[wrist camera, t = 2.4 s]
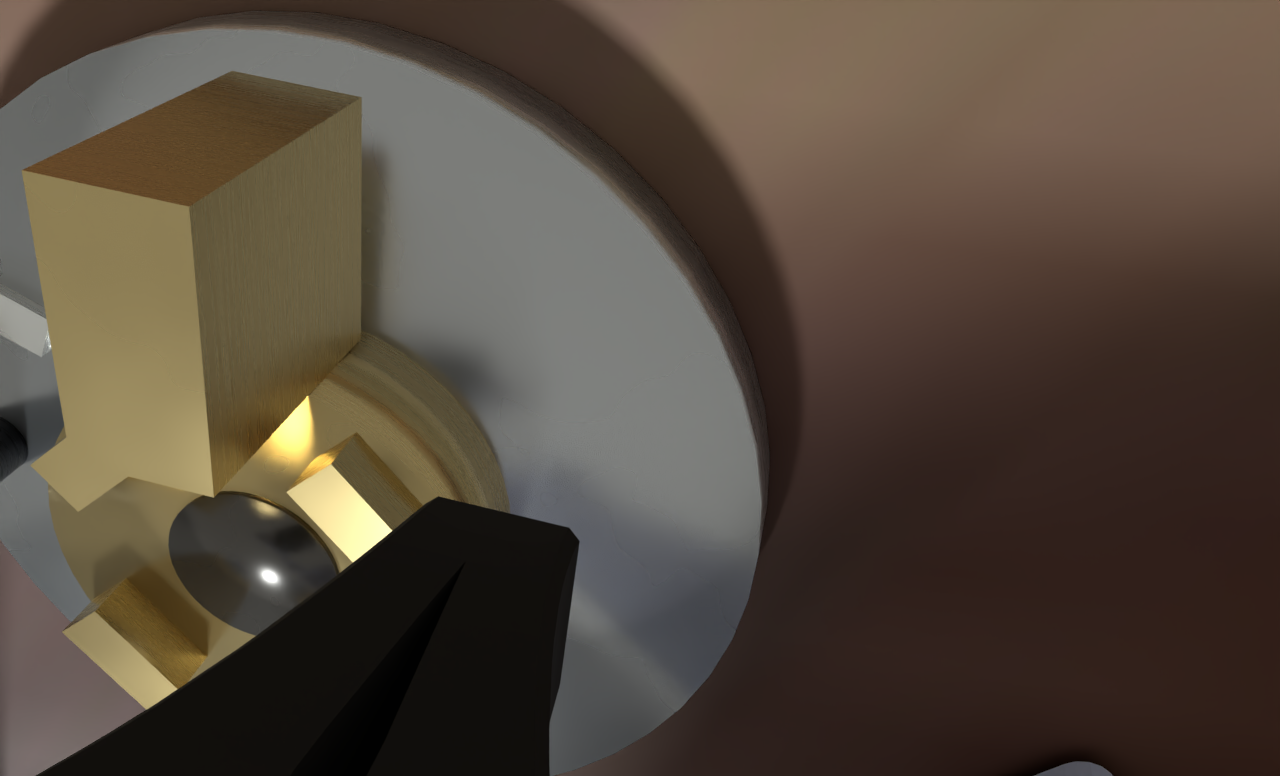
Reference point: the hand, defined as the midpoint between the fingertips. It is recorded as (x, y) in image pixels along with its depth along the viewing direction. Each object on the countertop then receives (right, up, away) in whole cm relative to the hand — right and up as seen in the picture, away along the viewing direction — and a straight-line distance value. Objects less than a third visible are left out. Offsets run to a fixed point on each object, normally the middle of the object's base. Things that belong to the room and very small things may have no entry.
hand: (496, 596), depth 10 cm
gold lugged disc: (-3, +1, +5) cm, 6 cm away
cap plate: (-3, +1, +7) cm, 8 cm away
